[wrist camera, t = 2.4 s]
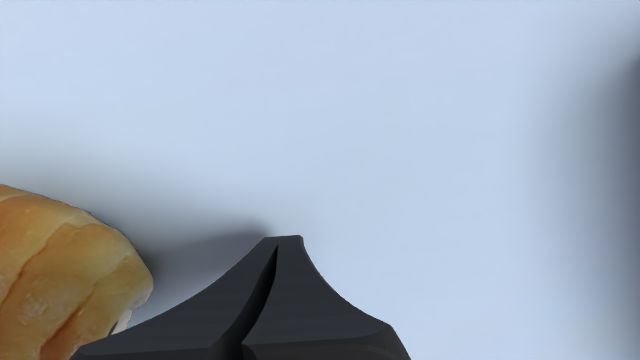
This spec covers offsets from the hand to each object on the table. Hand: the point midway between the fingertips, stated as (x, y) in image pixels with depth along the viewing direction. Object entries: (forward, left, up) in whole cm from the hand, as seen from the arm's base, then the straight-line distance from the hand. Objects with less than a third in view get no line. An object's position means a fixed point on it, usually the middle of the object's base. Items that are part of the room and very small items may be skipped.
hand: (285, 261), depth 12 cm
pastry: (-8, +6, -2) cm, 10 cm away
